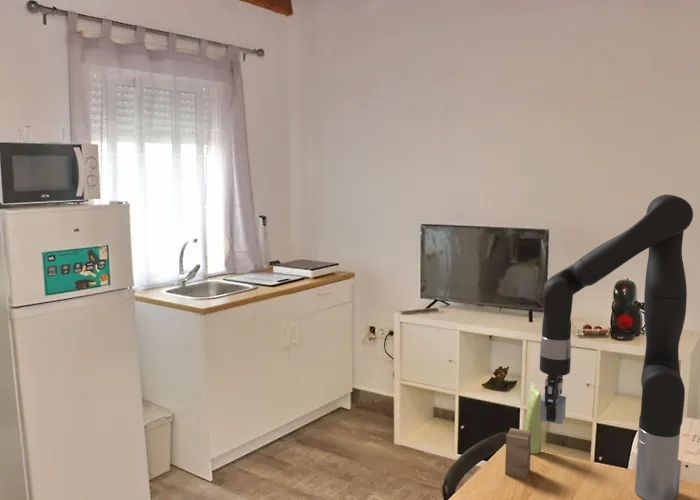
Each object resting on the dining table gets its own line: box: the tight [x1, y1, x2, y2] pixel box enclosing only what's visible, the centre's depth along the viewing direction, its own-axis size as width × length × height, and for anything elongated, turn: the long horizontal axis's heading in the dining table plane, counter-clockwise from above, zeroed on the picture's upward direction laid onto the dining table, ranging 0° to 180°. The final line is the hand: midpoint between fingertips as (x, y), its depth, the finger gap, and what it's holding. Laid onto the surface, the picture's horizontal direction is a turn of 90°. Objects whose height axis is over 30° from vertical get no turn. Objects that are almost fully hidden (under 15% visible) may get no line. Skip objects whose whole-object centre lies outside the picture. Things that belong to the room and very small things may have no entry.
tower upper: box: [505, 427, 531, 459], centre depth 169 cm, size 6×6×6 cm
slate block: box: [540, 392, 567, 425], centre depth 164 cm, size 6×6×6 cm
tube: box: [524, 381, 543, 455], centre depth 181 cm, size 6×5×20 cm
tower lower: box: [504, 451, 532, 480], centre depth 170 cm, size 6×6×6 cm
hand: (552, 416), depth 164 cm, fingers closed on slate block, 5 cm apart
